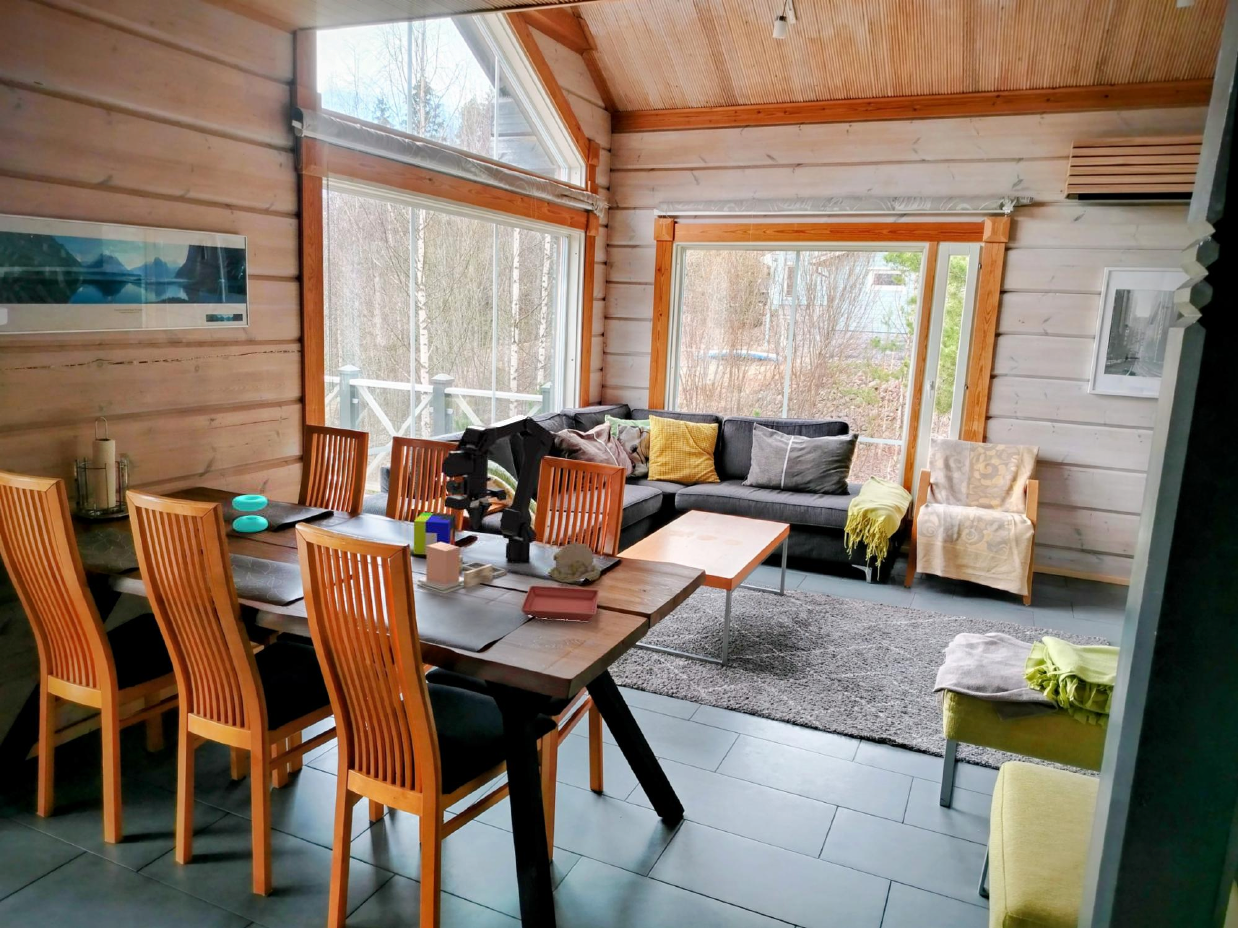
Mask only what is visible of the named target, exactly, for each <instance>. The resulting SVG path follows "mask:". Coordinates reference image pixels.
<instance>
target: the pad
mask: <svg viewBox="0 0 1238 928" xmlns="http://www.w3.org/2000/svg"><path fill="white" fill-rule="evenodd" d="M416 585H417V586H420V587H423V588H426V589H429V590H433V591H435V592H438V593H441V594H448V593H450V592H453V591H456V590H459V589H462V588H465V587H464V584H460V585H457V586H454V587H451V588H448V589H445V590H440V589H437V588H434V587H431V586H428V585H425V584H422V583H419V582H417V583H416Z"/></svg>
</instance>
